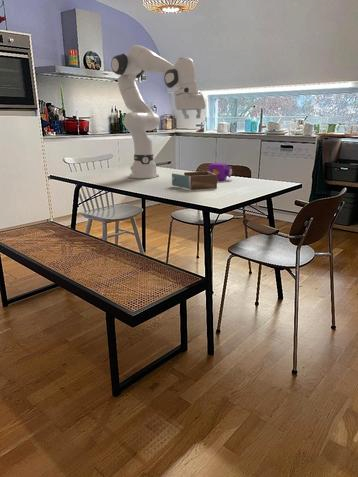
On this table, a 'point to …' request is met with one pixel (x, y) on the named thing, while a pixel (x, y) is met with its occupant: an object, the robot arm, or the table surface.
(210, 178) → the storage case
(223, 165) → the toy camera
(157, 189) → the table surface
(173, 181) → the side door
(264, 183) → the table surface
